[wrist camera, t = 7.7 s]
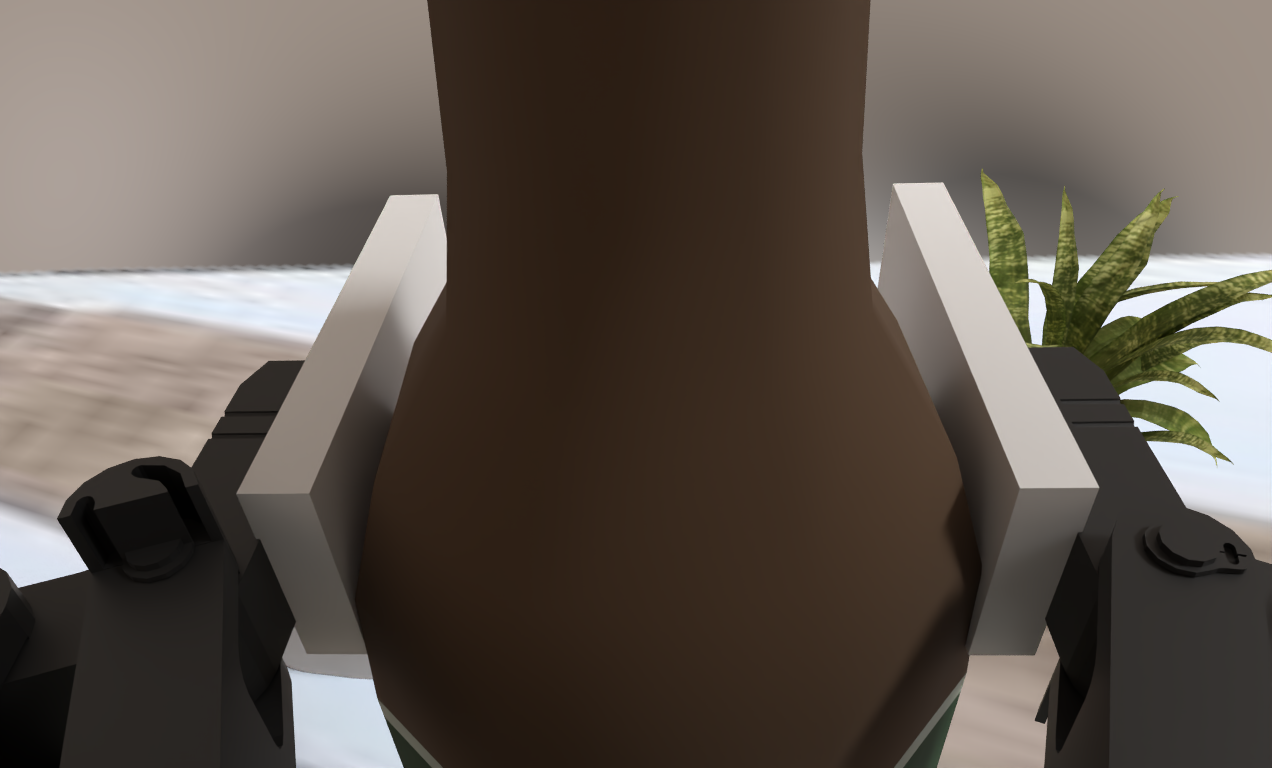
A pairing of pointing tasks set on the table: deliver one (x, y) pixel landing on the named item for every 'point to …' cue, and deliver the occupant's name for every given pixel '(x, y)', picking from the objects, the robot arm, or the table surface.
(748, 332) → the beer bottle
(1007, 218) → the house plant
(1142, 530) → the robot arm
